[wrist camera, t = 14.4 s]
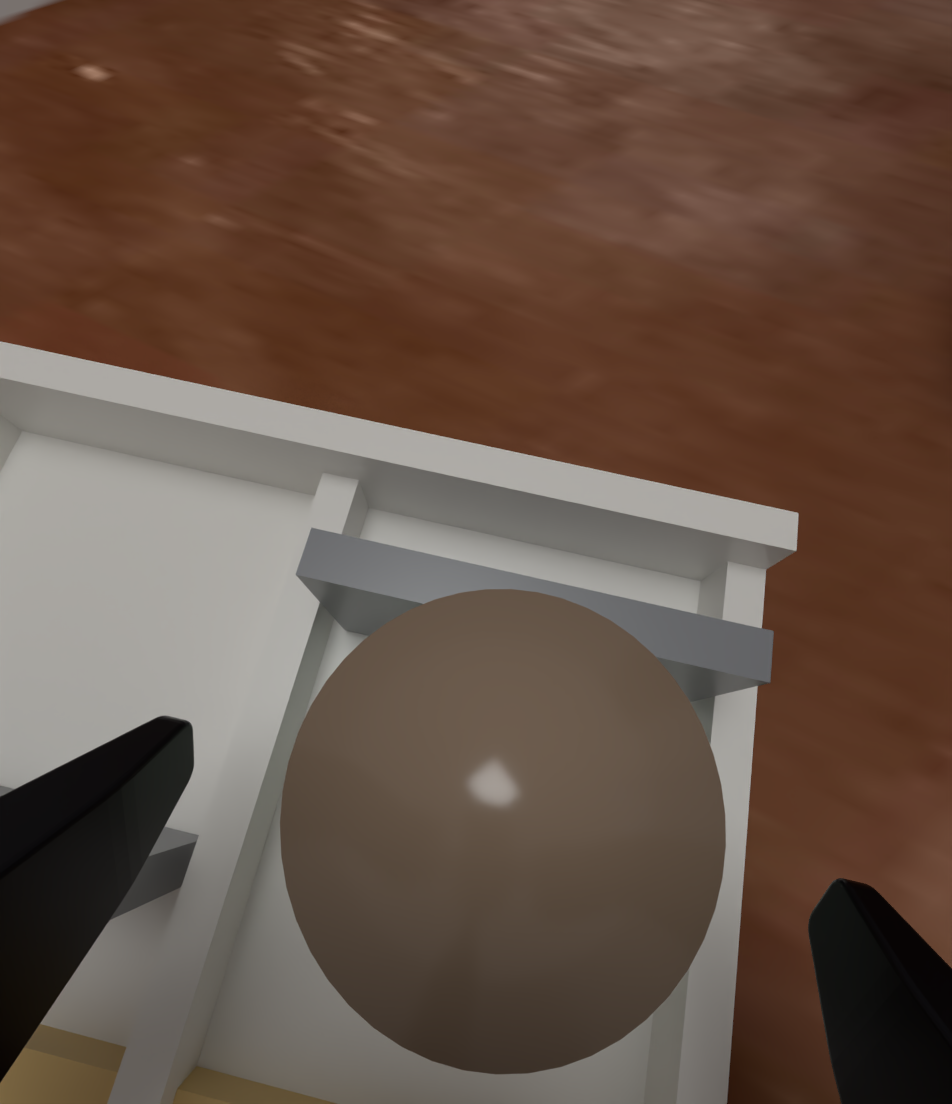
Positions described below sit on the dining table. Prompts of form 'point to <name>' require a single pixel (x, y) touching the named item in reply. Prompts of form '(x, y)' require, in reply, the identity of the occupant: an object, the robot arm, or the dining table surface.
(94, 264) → the dining table surface
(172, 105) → the dining table surface
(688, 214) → the dining table surface
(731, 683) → the plate
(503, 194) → the dining table surface
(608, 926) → the sage jar
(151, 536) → the white divided tray
